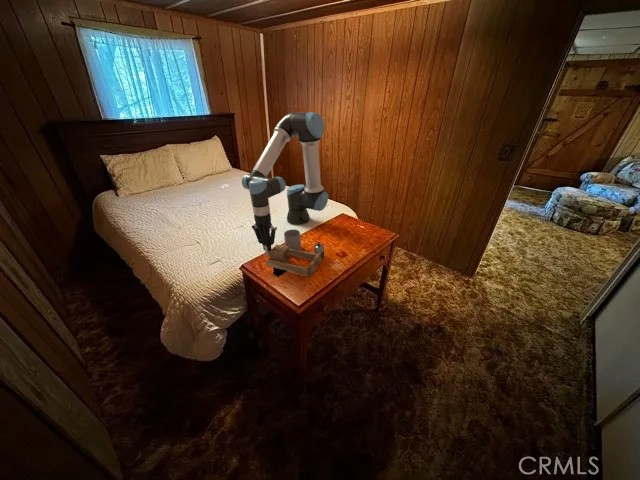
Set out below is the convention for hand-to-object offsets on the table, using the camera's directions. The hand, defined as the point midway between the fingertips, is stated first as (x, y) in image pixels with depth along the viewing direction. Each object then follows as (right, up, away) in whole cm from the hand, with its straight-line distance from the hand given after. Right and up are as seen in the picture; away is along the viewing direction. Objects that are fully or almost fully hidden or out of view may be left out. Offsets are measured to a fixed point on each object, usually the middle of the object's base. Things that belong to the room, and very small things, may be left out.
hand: (268, 255), depth 129 cm
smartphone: (+4, -6, -6) cm, 9 cm away
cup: (+12, +3, +8) cm, 14 cm away
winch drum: (+26, 0, +1) cm, 26 cm away
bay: (+13, -4, -4) cm, 14 cm away
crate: (+7, -3, -1) cm, 7 cm away
